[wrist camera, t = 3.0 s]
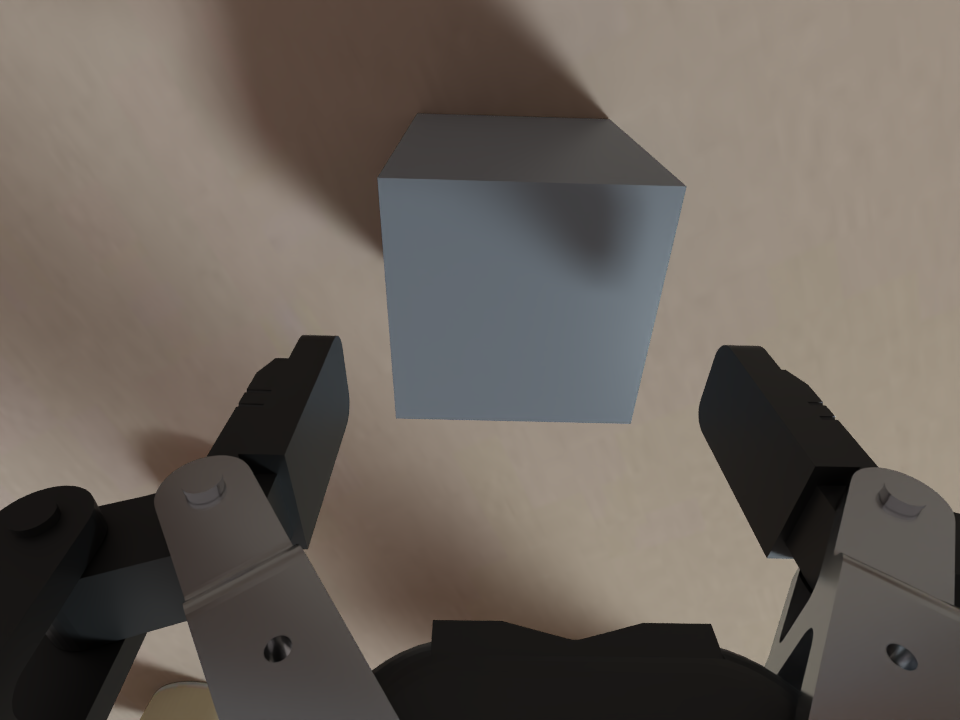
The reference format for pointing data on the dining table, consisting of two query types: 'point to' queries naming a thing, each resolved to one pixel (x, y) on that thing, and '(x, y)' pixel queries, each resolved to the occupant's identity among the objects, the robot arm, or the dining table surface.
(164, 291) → the dining table surface
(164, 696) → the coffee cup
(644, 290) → the grey upright rectangular block
